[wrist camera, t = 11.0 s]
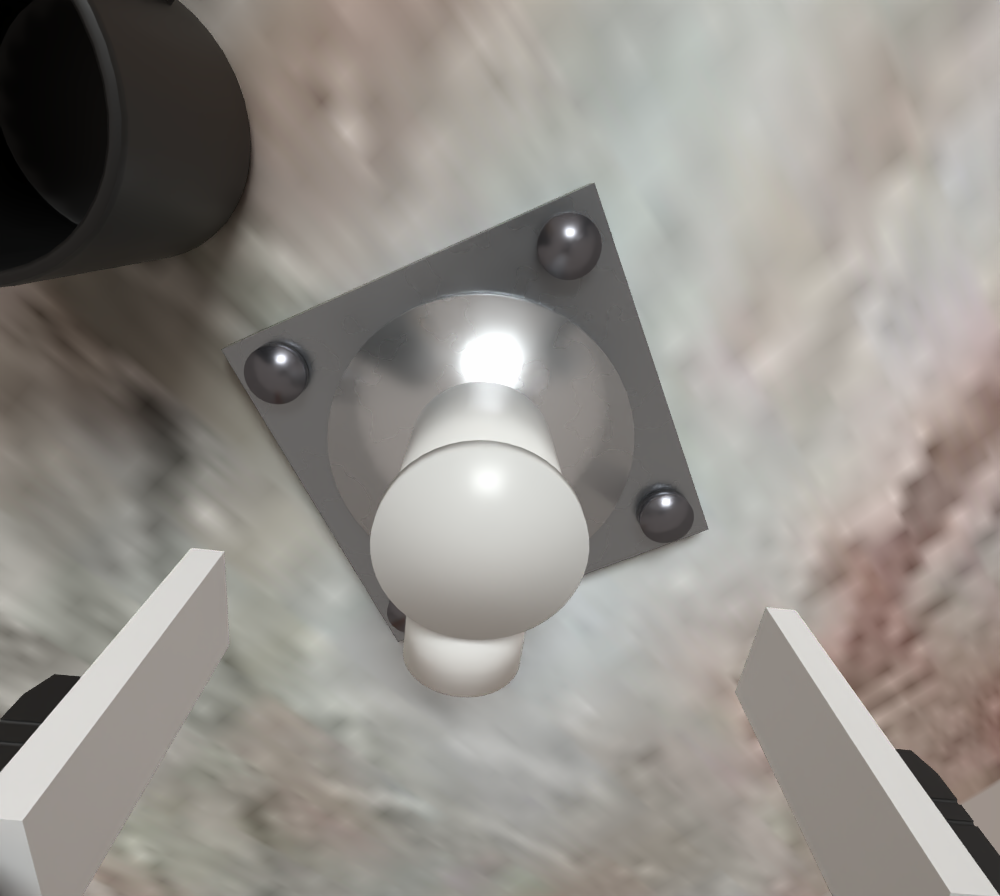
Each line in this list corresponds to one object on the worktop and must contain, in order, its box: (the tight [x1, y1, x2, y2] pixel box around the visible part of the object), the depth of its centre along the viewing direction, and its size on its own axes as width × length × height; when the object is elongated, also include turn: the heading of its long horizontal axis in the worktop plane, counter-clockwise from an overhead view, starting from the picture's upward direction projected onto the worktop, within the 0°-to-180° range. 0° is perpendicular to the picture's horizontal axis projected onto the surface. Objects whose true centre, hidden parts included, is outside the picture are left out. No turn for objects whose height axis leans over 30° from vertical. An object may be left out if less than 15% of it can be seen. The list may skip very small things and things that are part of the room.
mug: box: [0, 0, 251, 287], centre depth 18 cm, size 9×12×9 cm
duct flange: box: [221, 183, 708, 642], centre depth 27 cm, size 16×16×2 cm
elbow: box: [370, 381, 589, 697], centre depth 23 cm, size 9×7×8 cm
